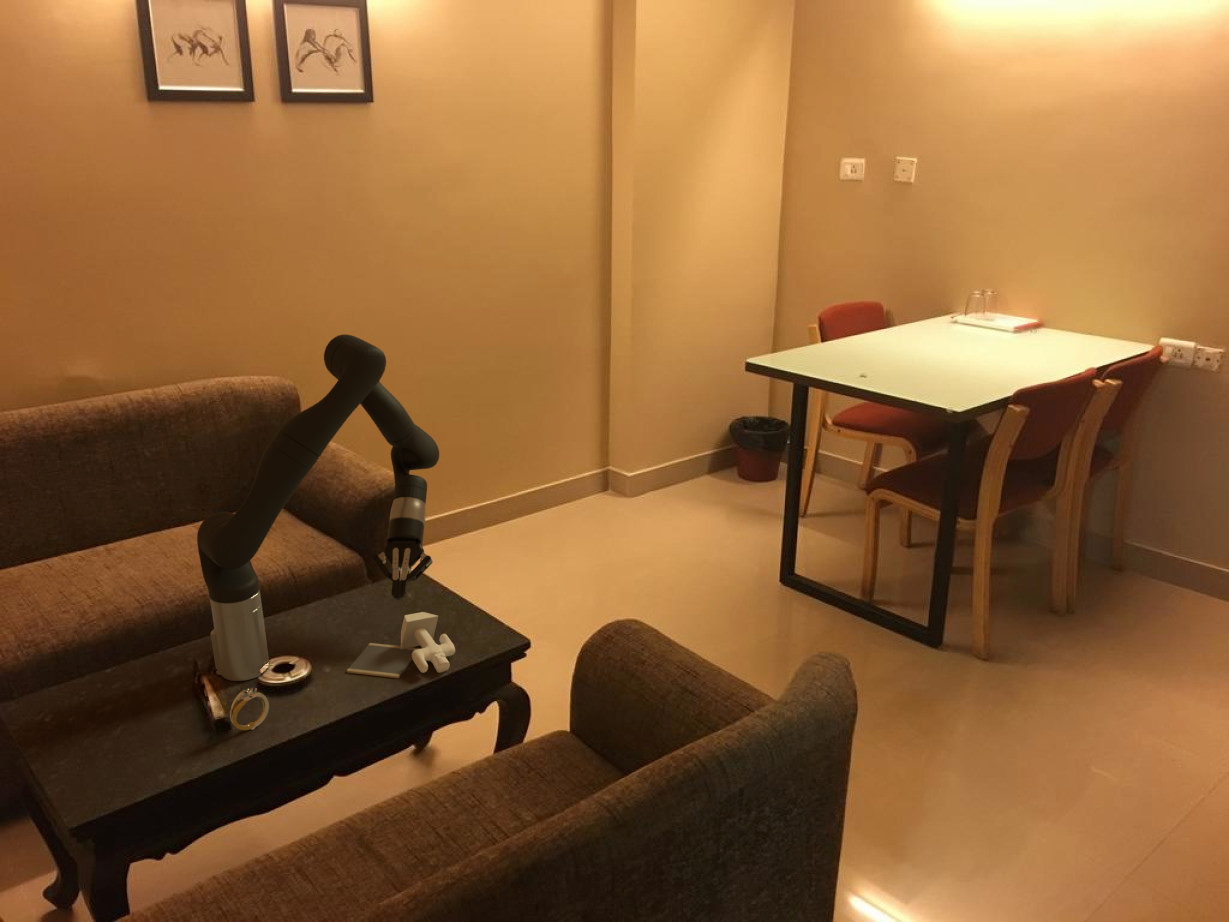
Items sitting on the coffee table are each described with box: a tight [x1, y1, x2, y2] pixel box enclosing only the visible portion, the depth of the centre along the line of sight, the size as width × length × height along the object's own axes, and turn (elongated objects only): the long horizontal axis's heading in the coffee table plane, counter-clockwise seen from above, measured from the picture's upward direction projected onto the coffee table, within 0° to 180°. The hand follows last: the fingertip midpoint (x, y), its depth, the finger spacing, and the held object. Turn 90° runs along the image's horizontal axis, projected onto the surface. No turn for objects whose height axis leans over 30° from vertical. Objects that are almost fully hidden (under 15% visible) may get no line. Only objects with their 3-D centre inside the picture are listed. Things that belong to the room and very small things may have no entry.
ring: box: [229, 687, 270, 731], centre depth 177 cm, size 7×3×8 cm, turn 132°
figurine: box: [400, 611, 456, 674], centre depth 201 cm, size 7×9×15 cm
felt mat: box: [346, 642, 420, 679], centre depth 200 cm, size 11×11×1 cm
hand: (398, 599), depth 205 cm, fingers closed
